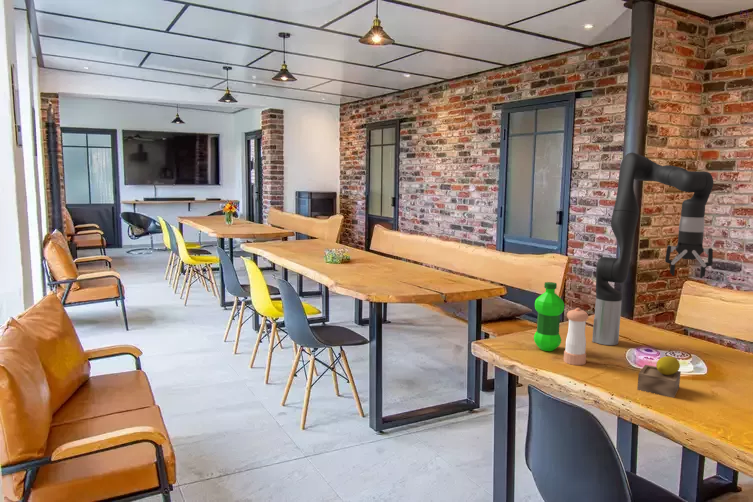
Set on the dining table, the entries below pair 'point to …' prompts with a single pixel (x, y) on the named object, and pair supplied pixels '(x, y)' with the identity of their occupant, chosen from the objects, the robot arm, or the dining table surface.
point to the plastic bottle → (548, 318)
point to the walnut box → (658, 381)
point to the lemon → (668, 365)
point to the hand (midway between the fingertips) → (686, 276)
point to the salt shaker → (576, 338)
